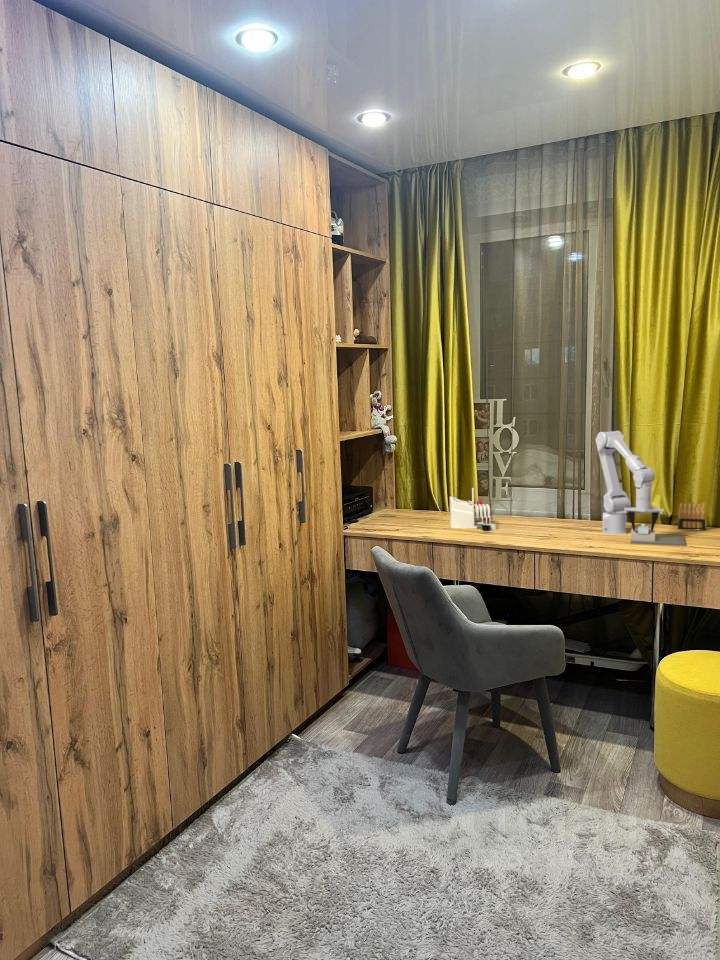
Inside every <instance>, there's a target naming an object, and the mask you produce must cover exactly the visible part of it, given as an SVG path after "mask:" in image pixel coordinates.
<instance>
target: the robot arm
mask: <svg viewBox="0 0 720 960" xmlns="http://www.w3.org/2000/svg"><path fill="white" fill-rule="evenodd" d="M595 444H596V448H597V452H598V456H599V460H600V464H601V469H602V473H603V478H604V482H605V486H606V489H607V490H606V491H607V492H606V493H605V494H604V495H603V508H604V510H605V511H606V512H603V513H602V526H601V529H602V534H603V535H604V534H605V535H621V534H626V535H627V533H626V532H627V531H628V530H627V528H626V525H627V524H626V523H627V522H626V521H627V518H626V516H628V518H629V520H630V523H631V525H632V526H631V527H632V529H633V531H635V529H636V525H635V522H636V521H635V520H636V519H635V517H636V516H635V514H650V515H651V526H650V529H651V532H653V530H654V527H655V525H656V522H657V520H658V519H659V515H664V513H663V512H664V511H663V510H664V509H663V508H656V507H652V482H654V481H655V478H656V475H655V470H653V468H651V467H648V466H646V465H645V463H644V462H643V460H641V458H640V456H639V455H636V454H633V452H632V451H631V450H630V447H628V445H627V443H626V442H625V436H624V434H623V433H622V432H621V431H620V430H613V431H599V432H598V433H597V435H596V438H595ZM616 451H617V452H618V453H619V454H620V455H621V456H622V457H623V458H624V460H625V465H626V467H627V468H628V469H629V471H630V472H631V473H632V474H633V475H632V478H633V481H634V486H635V487H636V488H635V507H631V500H630V499H629V497H628V494H627V492H625V491H624V490H623V489H621V484H620V480H619V477H618V473H617V468H616V464H615V460H614V456H613V453H614V452H616Z"/></svg>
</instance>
